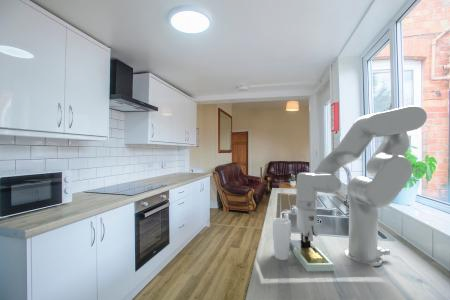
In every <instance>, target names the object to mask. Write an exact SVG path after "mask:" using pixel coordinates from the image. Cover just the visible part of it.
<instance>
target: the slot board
mask: <svg viewBox="0 0 450 300" xmlns="http://www.w3.org/2000/svg"><path fill="white" fill-rule="evenodd" d="M315 247H316V246H315V245H314V244H313V243H312V242H311V243H310V248H312V249H313V250H314V252H315ZM289 248H290V249H291V250H292V251H293V252H294V248H297V249H298V250H299V252H300V253H301V239H299V240H297V239H294V240H293V239H292V238H290V247H289Z"/></svg>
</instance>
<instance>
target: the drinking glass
mask: <svg viewBox="0 0 450 300" xmlns="http://www.w3.org/2000/svg"><path fill="white" fill-rule="evenodd" d="M291 236H292V221H291V219H288V218H286V217H275V218H274V219H272V237H273V251H274V252H273V253H274V258H276V259H277V260H280V261H286V260H289V258H290V248H291V247H290V239H291Z"/></svg>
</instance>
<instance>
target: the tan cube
mask: <svg viewBox="0 0 450 300" xmlns="http://www.w3.org/2000/svg"><path fill="white" fill-rule="evenodd" d="M306 261H307V262H308V263H323V262H322V257H321V256H320V255H319V254H318V253H306Z"/></svg>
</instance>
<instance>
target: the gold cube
mask: <svg viewBox="0 0 450 300" xmlns="http://www.w3.org/2000/svg"><path fill="white" fill-rule="evenodd" d="M306 253H315V252H314V250H313V249H312V248H301V254H302V256H303V257H304V258H305V259H306Z"/></svg>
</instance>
